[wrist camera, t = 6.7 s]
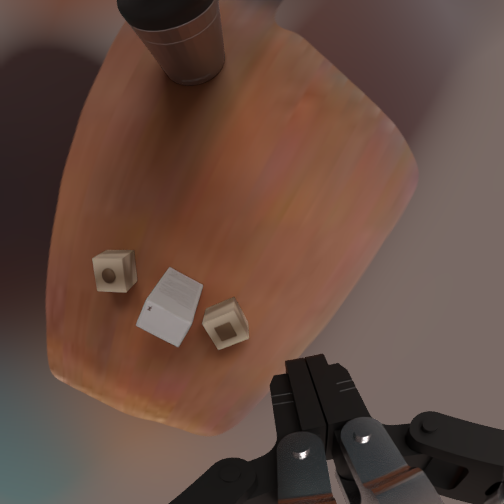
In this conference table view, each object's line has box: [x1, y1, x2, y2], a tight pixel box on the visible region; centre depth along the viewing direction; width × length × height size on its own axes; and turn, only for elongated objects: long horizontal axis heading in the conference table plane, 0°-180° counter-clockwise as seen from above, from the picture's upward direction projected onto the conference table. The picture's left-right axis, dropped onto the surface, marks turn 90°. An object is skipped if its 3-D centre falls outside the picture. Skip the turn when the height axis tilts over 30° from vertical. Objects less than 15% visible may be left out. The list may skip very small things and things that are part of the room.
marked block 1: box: [92, 250, 137, 292], centre depth 38 cm, size 5×5×5 cm
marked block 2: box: [202, 297, 249, 350], centre depth 41 cm, size 5×5×5 cm
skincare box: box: [136, 267, 203, 347], centre depth 36 cm, size 6×4×12 cm
